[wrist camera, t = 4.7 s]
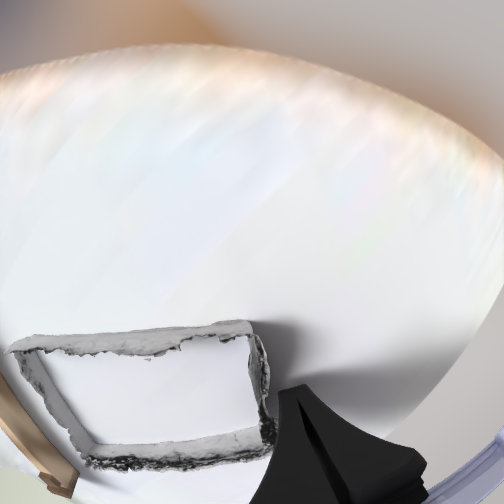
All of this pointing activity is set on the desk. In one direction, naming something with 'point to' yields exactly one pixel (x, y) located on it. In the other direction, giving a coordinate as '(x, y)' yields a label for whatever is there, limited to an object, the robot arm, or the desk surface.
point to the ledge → (35, 445)
